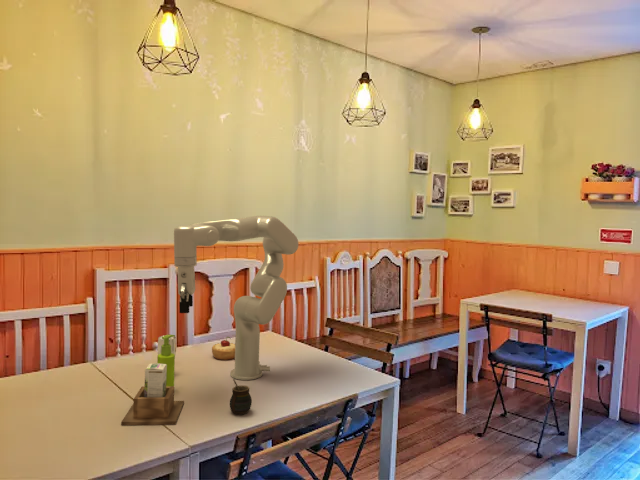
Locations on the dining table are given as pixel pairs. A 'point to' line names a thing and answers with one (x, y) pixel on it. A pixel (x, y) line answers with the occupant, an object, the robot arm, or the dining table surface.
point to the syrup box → (155, 380)
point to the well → (154, 409)
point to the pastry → (224, 350)
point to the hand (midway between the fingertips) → (186, 309)
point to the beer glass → (171, 341)
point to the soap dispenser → (167, 360)
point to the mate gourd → (240, 399)
